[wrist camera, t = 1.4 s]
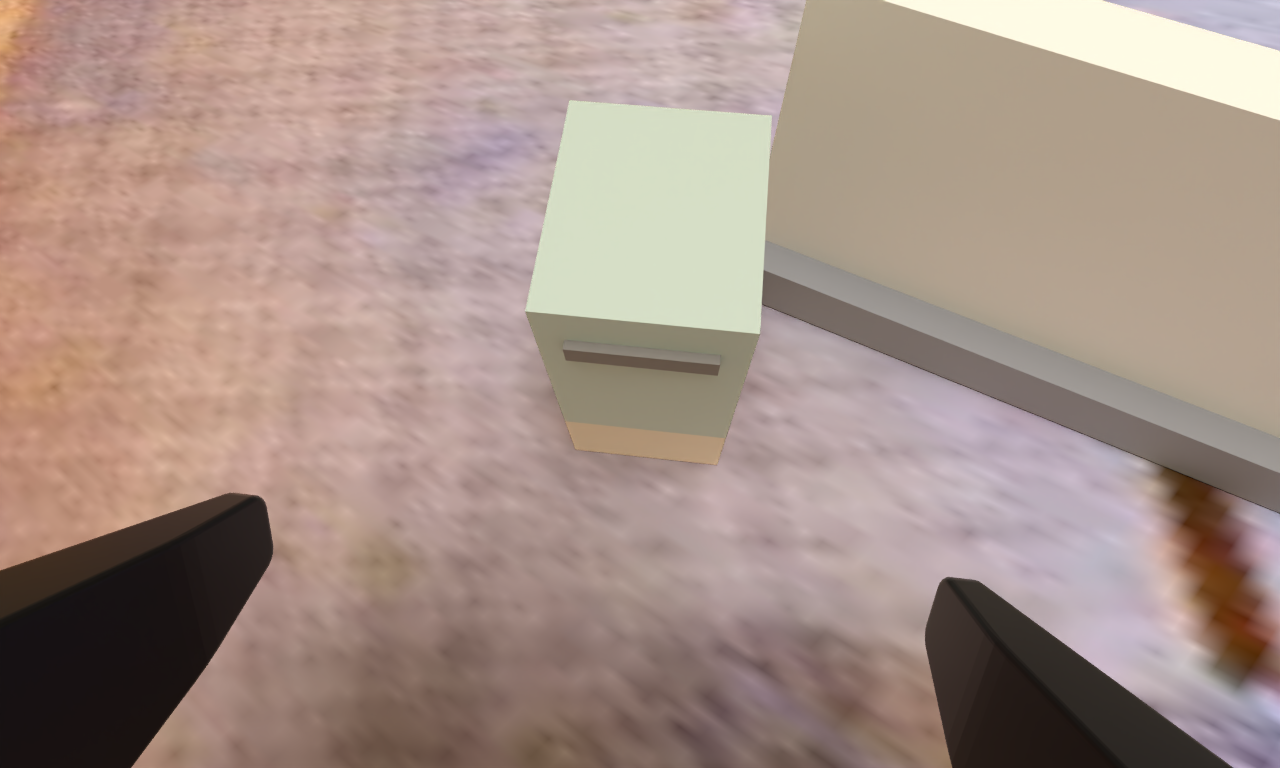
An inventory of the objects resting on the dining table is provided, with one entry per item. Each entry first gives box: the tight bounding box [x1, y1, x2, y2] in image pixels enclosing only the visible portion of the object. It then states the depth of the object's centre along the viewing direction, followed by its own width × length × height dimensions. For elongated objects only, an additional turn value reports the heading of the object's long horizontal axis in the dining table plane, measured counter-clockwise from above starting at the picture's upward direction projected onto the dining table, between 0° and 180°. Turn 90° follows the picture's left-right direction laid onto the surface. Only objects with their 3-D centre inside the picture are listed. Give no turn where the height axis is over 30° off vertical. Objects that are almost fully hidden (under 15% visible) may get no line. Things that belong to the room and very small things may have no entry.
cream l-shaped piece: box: [762, 0, 1280, 513], centre depth 20 cm, size 10×20×12 cm, turn 64°
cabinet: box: [525, 100, 772, 465], centre depth 20 cm, size 6×5×10 cm
